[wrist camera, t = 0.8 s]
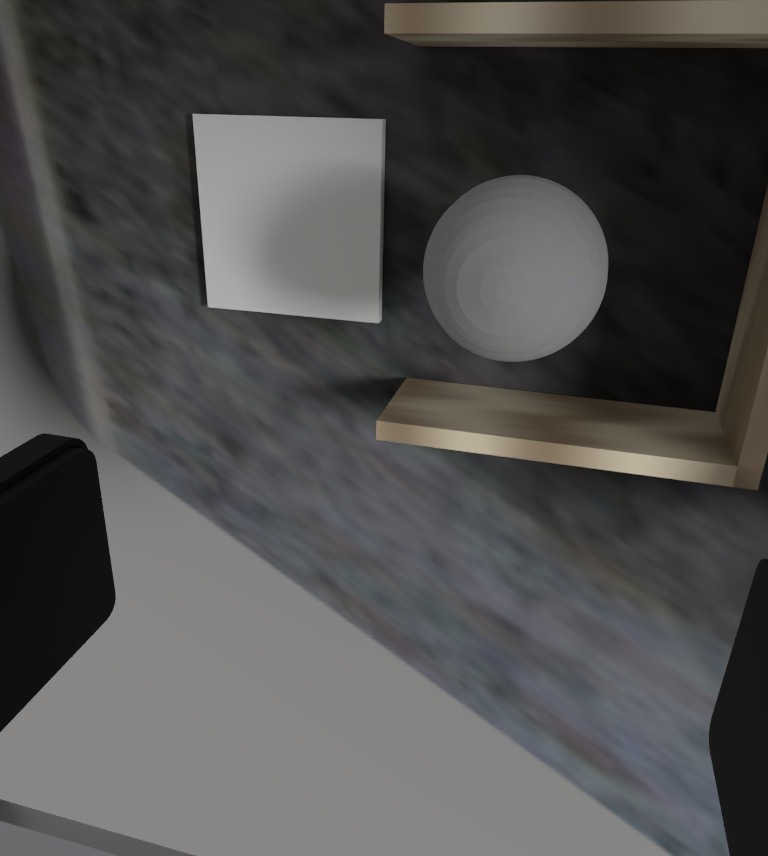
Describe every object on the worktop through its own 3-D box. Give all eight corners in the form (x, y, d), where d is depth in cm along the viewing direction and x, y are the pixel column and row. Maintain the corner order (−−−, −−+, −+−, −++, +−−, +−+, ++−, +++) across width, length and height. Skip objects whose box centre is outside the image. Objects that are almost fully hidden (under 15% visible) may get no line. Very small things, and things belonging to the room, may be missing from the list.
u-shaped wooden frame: (832, 20, 23) (889, -1, 19) (732, 432, 29) (757, 490, 25) (419, 21, 26) (384, 3, 22) (405, 394, 32) (376, 439, 28)
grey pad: (385, 119, 28) (382, 119, 27) (381, 320, 31) (378, 323, 31) (198, 113, 30) (192, 113, 29) (213, 304, 33) (207, 307, 32)
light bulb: (443, 193, 28) (375, 230, 19) (580, 136, 26) (574, 149, 17) (489, 320, 30) (445, 409, 21) (622, 276, 28) (636, 354, 19)
